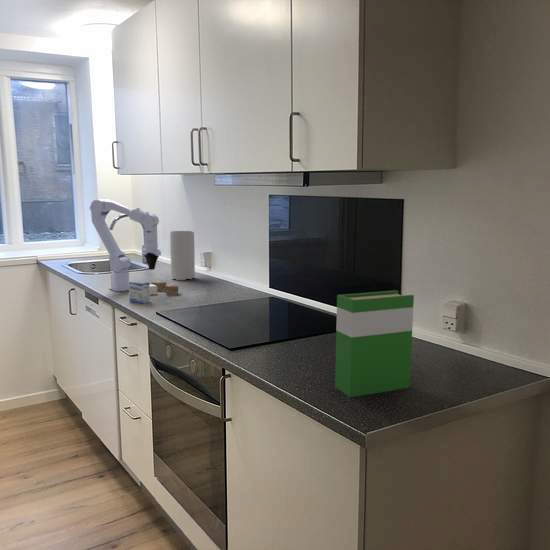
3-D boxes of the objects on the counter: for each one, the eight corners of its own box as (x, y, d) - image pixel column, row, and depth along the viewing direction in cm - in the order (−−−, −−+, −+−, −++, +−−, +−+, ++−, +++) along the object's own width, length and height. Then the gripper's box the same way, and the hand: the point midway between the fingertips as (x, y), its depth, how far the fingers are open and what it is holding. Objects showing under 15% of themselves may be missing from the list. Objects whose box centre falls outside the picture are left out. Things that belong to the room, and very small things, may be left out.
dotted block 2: (165, 293, 275) (164, 284, 274) (175, 292, 277) (175, 283, 276) (167, 295, 270) (167, 286, 269) (178, 294, 272) (178, 285, 271)
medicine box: (129, 301, 254) (128, 282, 253) (136, 300, 258) (135, 280, 257) (143, 303, 251) (142, 283, 250) (150, 302, 255) (149, 282, 253)
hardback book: (392, 378, 158) (396, 290, 154) (409, 387, 151) (413, 295, 147) (334, 387, 151) (337, 295, 147) (349, 397, 144) (352, 300, 140)
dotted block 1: (151, 290, 282) (151, 281, 281) (159, 289, 286) (159, 280, 285) (158, 291, 279) (158, 282, 278) (166, 290, 283) (166, 281, 282)
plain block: (142, 293, 273) (142, 285, 273) (152, 292, 276) (152, 284, 276) (147, 295, 269) (146, 286, 269) (157, 294, 272) (157, 285, 272)
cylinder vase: (173, 276, 322) (172, 230, 318) (196, 276, 321) (196, 231, 318) (168, 280, 310) (167, 232, 306) (192, 280, 309) (191, 233, 305)
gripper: (166, 241, 272) (167, 270, 274) (151, 238, 283) (152, 266, 286) (152, 242, 268) (153, 271, 270) (138, 239, 279) (138, 268, 281)
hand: (151, 269), depth 278 cm, fingers closed
